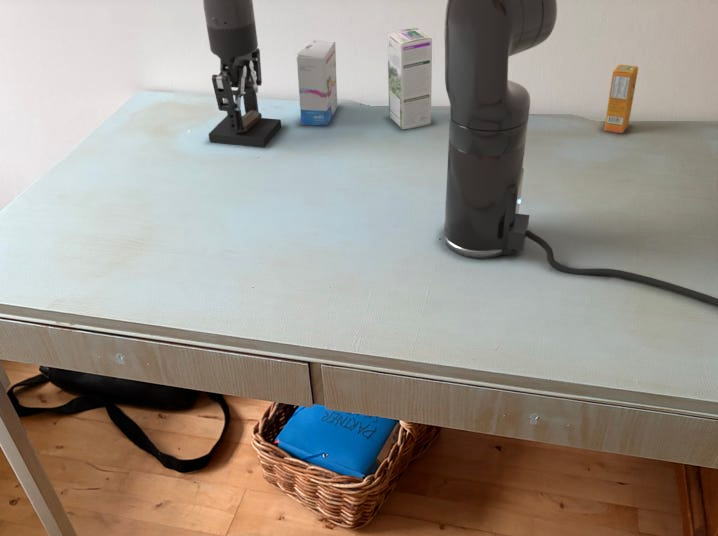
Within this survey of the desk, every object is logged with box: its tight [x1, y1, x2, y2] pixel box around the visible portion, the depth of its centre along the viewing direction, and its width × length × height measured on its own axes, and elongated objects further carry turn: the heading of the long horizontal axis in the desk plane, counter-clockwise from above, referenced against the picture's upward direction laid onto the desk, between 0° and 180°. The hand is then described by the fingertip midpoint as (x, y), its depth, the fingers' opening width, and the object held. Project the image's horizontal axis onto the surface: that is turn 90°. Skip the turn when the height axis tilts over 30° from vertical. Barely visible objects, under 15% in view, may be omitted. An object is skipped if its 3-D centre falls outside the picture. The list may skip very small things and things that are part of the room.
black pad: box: [208, 115, 283, 148], centre depth 127 cm, size 10×8×2 cm
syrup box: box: [387, 27, 433, 130], centre depth 125 cm, size 6×6×14 cm
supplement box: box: [603, 64, 639, 134], centre depth 121 cm, size 3×3×10 cm
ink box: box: [296, 39, 338, 127], centre depth 129 cm, size 9×5×12 cm, turn 168°
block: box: [234, 110, 263, 133], centre depth 126 cm, size 4×6×2 cm, turn 154°
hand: (244, 122), depth 127 cm, fingers closed on block, 6 cm apart
